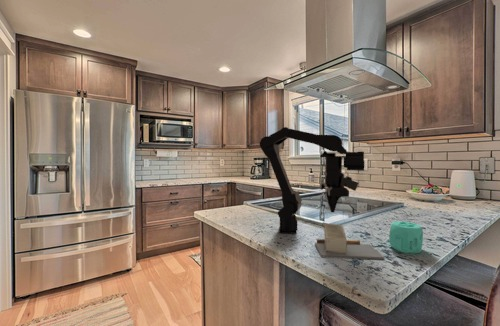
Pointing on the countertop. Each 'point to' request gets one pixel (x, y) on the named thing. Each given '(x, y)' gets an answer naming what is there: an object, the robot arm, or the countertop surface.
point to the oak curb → (347, 241)
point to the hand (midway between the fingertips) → (332, 212)
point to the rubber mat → (351, 252)
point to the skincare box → (335, 238)
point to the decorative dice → (406, 237)
